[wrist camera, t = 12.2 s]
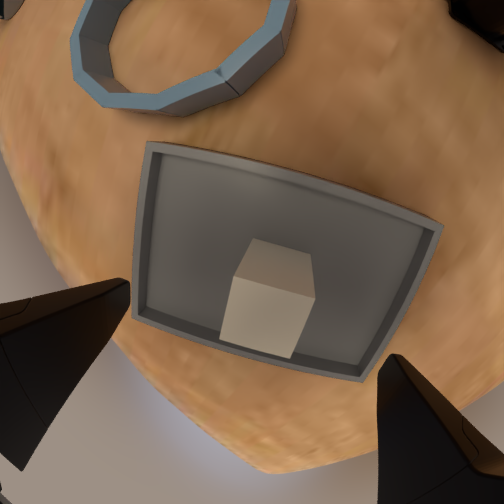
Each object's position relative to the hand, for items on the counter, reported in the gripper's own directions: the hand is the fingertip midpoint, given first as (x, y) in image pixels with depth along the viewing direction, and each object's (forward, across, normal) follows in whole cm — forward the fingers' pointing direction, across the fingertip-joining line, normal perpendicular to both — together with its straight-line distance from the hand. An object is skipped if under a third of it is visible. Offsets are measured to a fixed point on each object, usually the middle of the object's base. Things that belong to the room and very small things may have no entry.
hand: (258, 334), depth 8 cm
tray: (+12, 0, +3) cm, 12 cm away
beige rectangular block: (+11, 0, +3) cm, 11 cm away
